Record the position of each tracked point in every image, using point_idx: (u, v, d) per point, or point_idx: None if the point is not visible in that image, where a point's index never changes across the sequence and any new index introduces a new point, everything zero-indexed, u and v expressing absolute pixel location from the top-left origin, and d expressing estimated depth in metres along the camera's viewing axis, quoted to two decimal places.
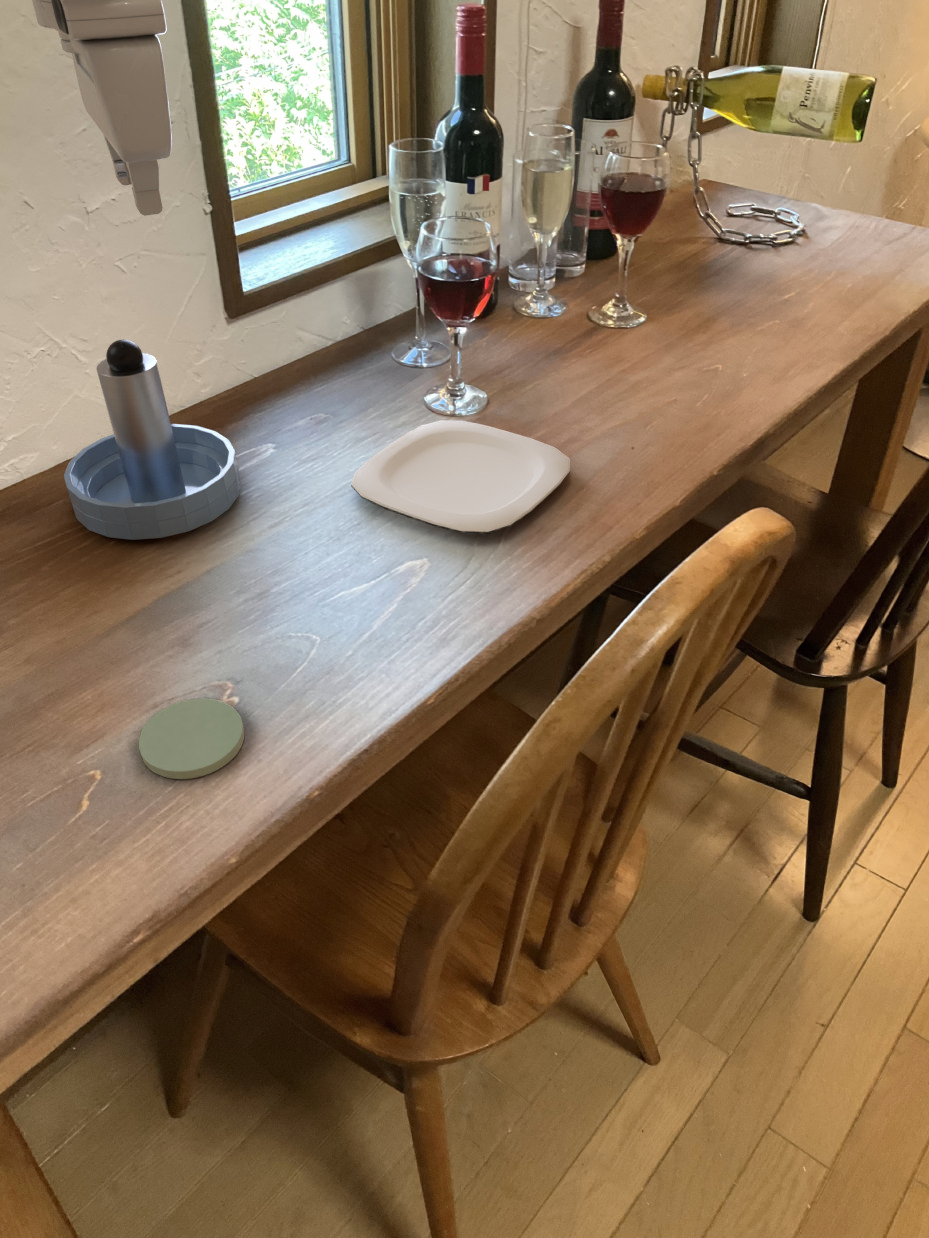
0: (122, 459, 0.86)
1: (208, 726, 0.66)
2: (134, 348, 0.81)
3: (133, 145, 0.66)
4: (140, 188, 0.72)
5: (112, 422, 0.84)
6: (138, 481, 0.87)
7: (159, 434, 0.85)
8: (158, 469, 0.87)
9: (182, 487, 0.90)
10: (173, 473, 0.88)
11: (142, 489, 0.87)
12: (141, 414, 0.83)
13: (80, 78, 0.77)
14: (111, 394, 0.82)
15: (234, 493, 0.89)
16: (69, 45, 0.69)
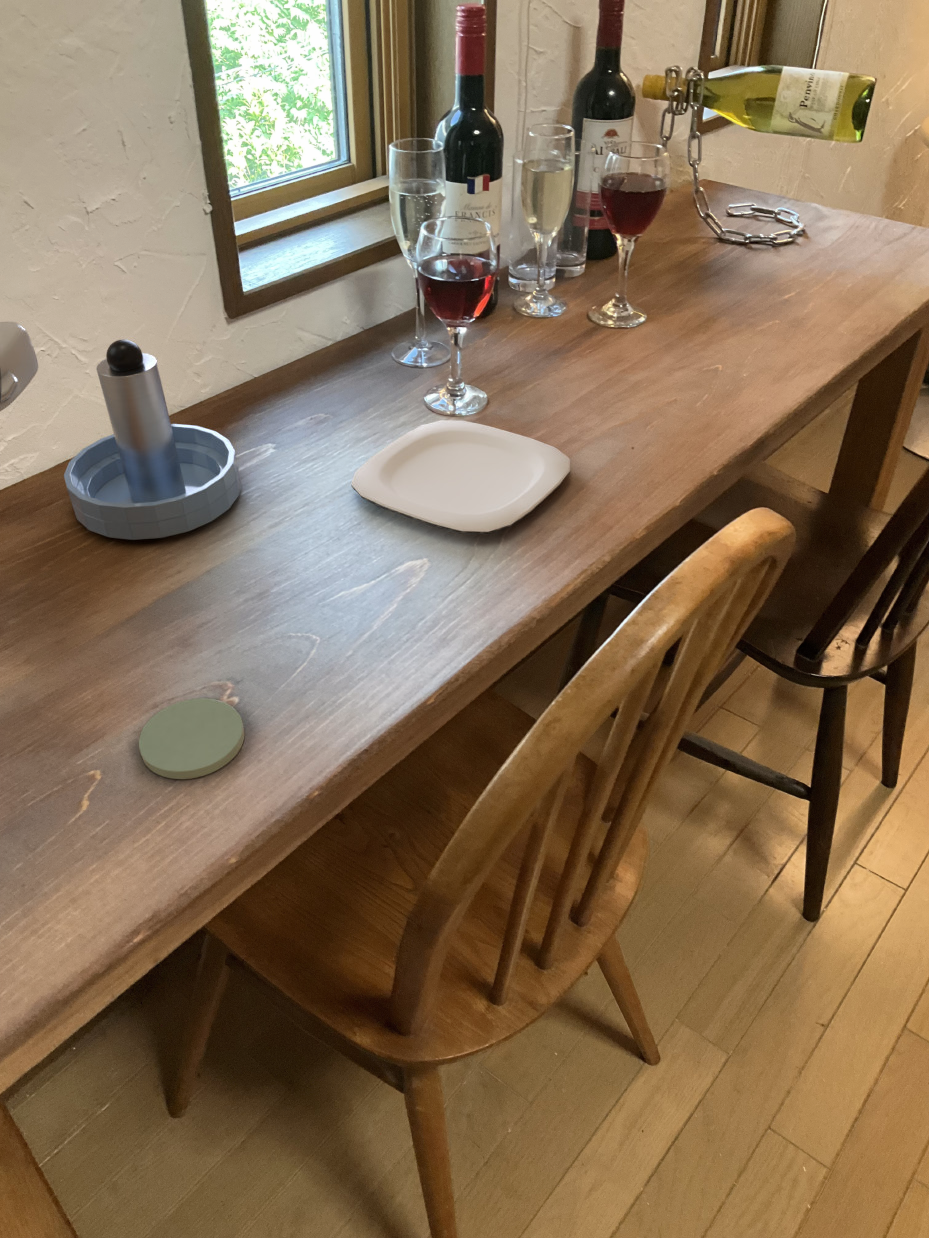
0: (122, 459, 0.86)
1: (208, 726, 0.66)
2: (134, 348, 0.81)
3: None
4: None
5: (112, 422, 0.84)
6: (138, 481, 0.87)
7: (159, 434, 0.85)
8: (158, 469, 0.87)
9: (182, 487, 0.90)
10: (173, 473, 0.88)
11: (142, 489, 0.87)
12: (141, 414, 0.83)
13: None
14: (111, 394, 0.82)
15: (234, 493, 0.89)
16: None
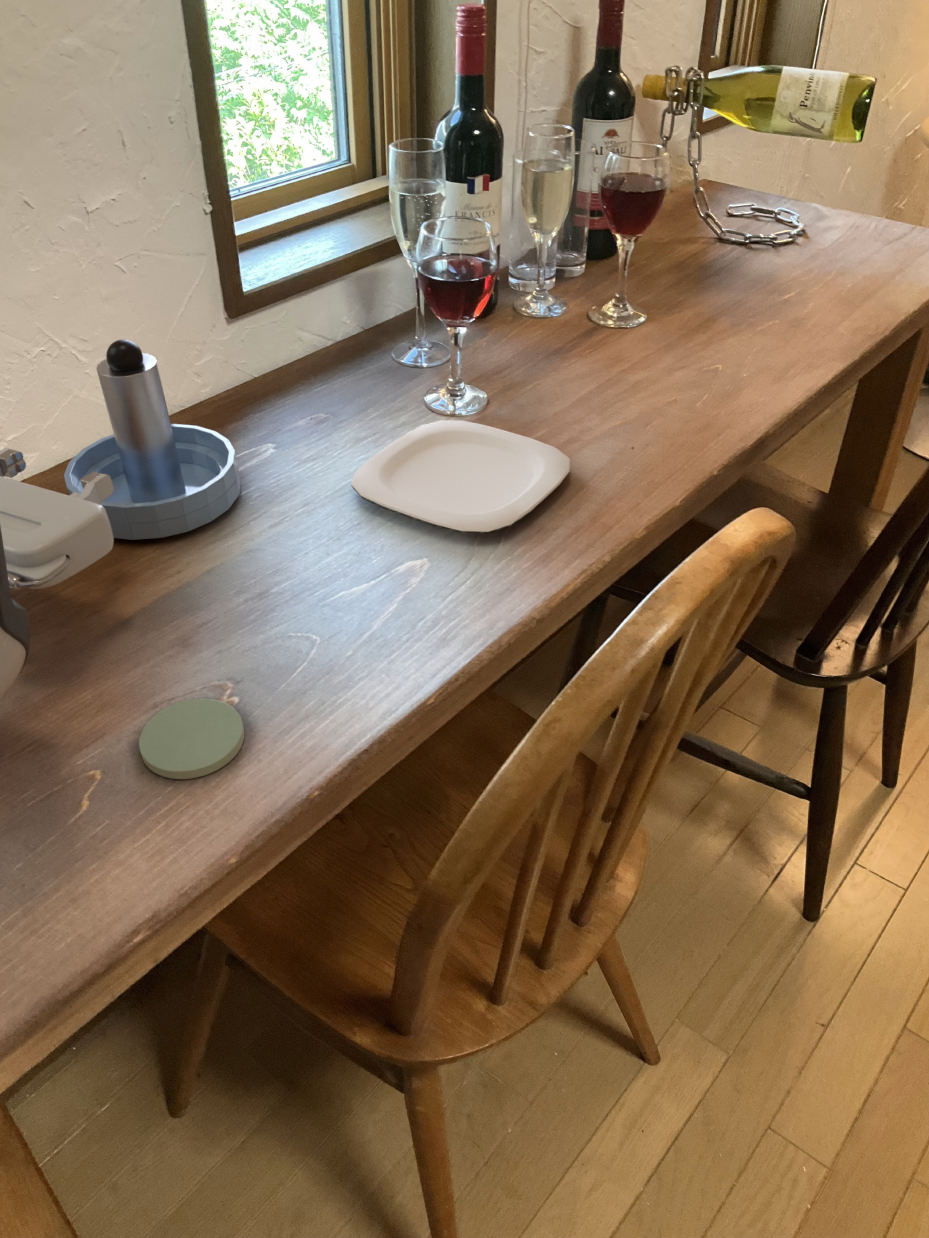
0: (122, 459, 0.86)
1: (208, 726, 0.66)
2: (134, 348, 0.81)
3: None
4: None
5: (112, 422, 0.84)
6: (138, 481, 0.87)
7: (159, 434, 0.85)
8: (158, 469, 0.87)
9: (182, 487, 0.90)
10: (173, 473, 0.88)
11: (142, 489, 0.87)
12: (141, 414, 0.83)
13: (48, 515, 0.70)
14: (111, 394, 0.82)
15: (234, 493, 0.89)
16: None
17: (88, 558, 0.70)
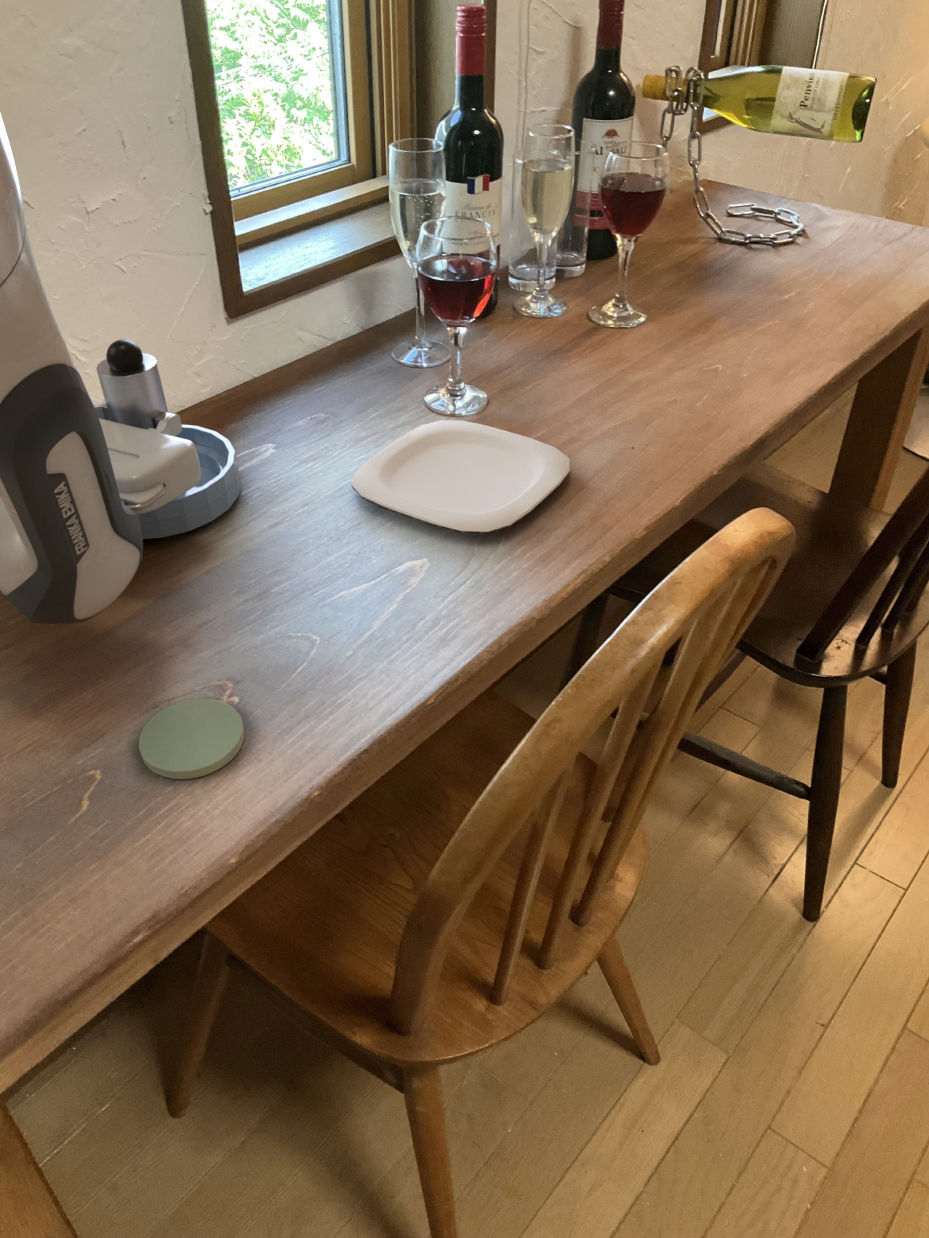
0: None
1: (208, 726, 0.66)
2: (134, 348, 0.81)
3: None
4: None
5: None
6: None
7: None
8: None
9: None
10: None
11: None
12: (141, 414, 0.83)
13: (145, 448, 0.78)
14: (111, 394, 0.82)
15: (234, 493, 0.89)
16: None
17: (180, 488, 0.78)
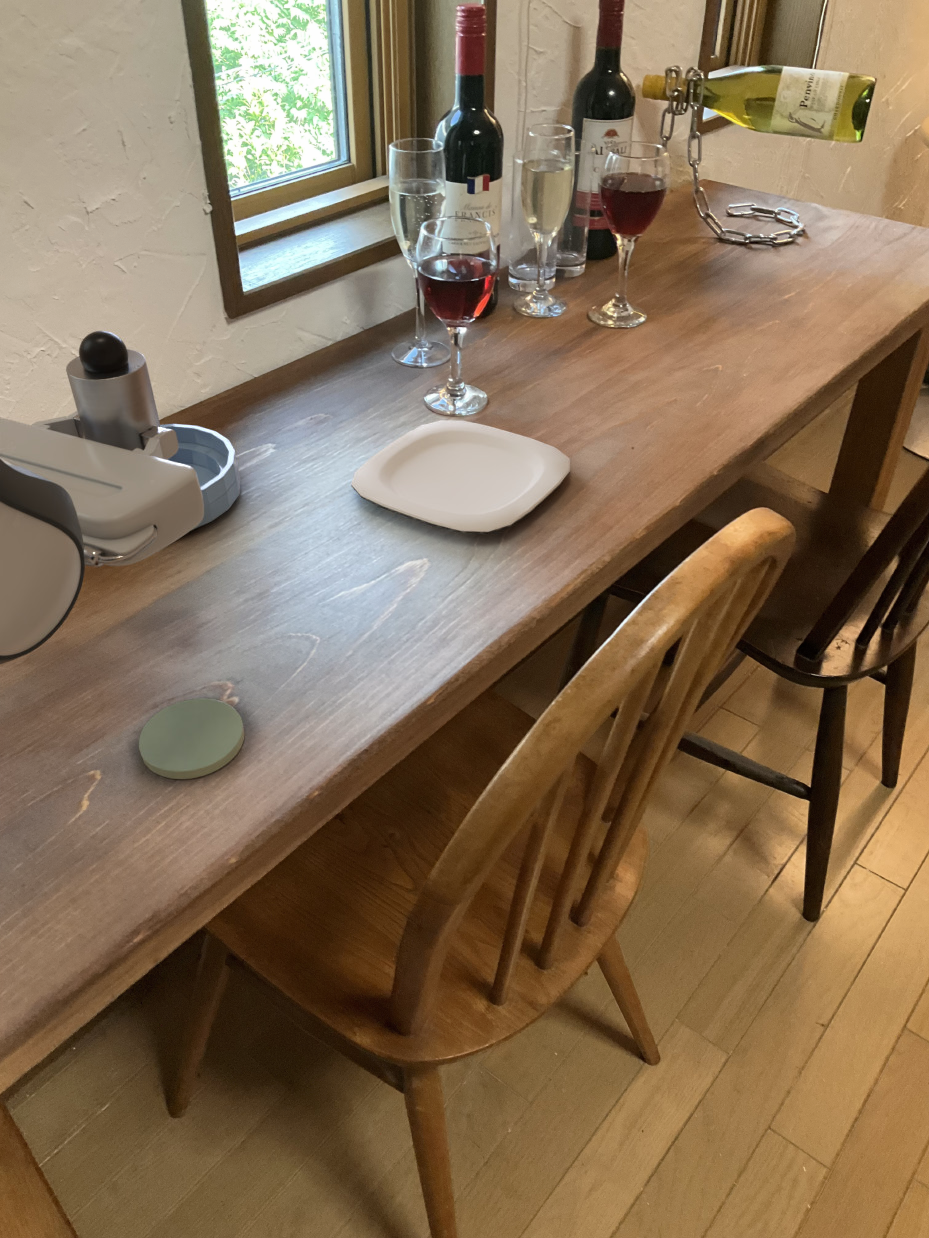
0: None
1: (208, 726, 0.66)
2: (116, 342, 0.62)
3: None
4: None
5: (87, 439, 0.64)
6: None
7: None
8: None
9: None
10: None
11: None
12: (125, 429, 0.63)
13: (129, 477, 0.58)
14: (86, 402, 0.62)
15: (234, 493, 0.89)
16: None
17: (177, 530, 0.58)
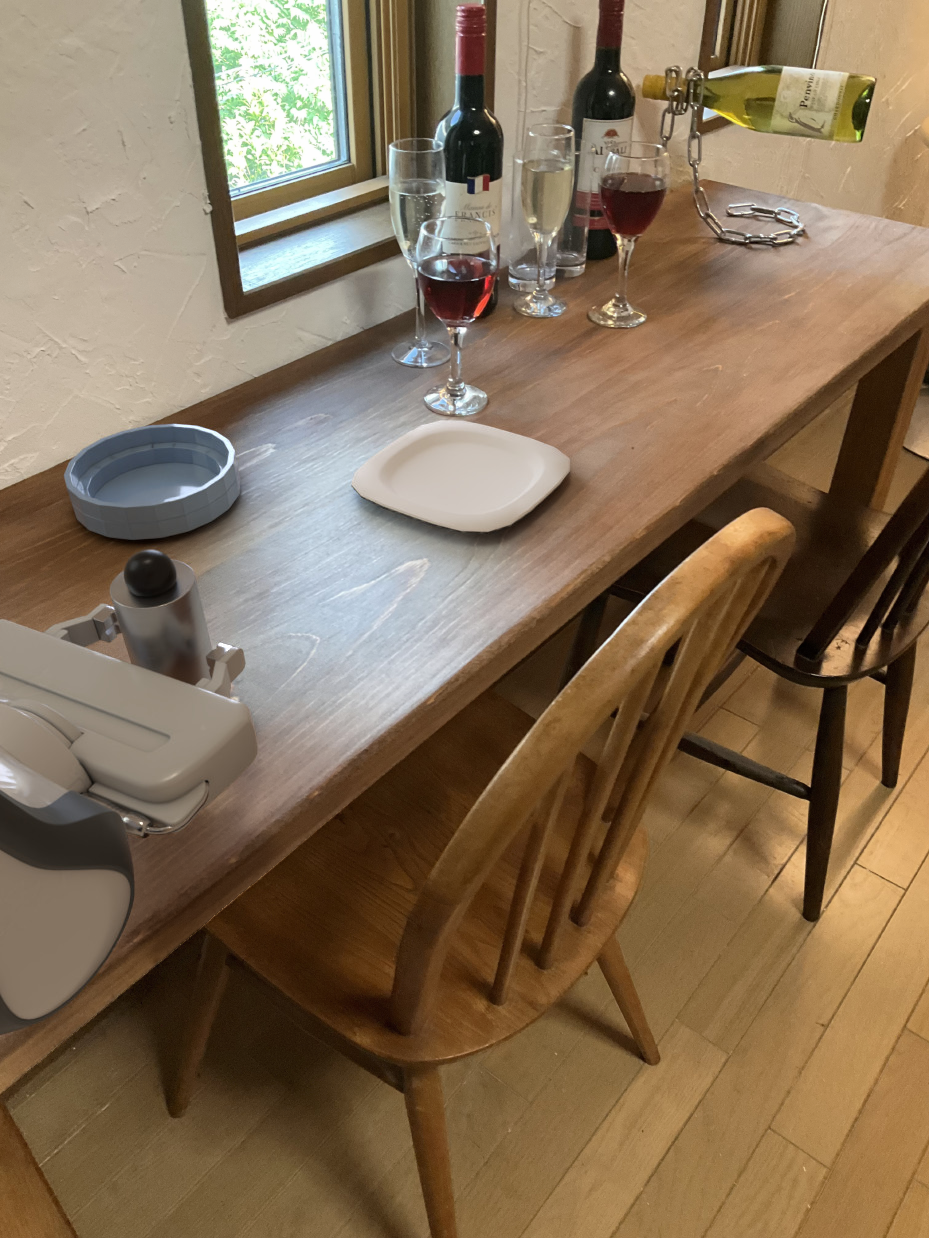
0: None
1: None
2: (164, 564, 0.56)
3: None
4: None
5: (131, 659, 0.59)
6: None
7: (198, 673, 0.60)
8: None
9: None
10: None
11: None
12: (174, 652, 0.58)
13: (177, 722, 0.53)
14: (131, 628, 0.57)
15: (234, 493, 0.89)
16: (13, 704, 0.52)
17: (229, 777, 0.53)
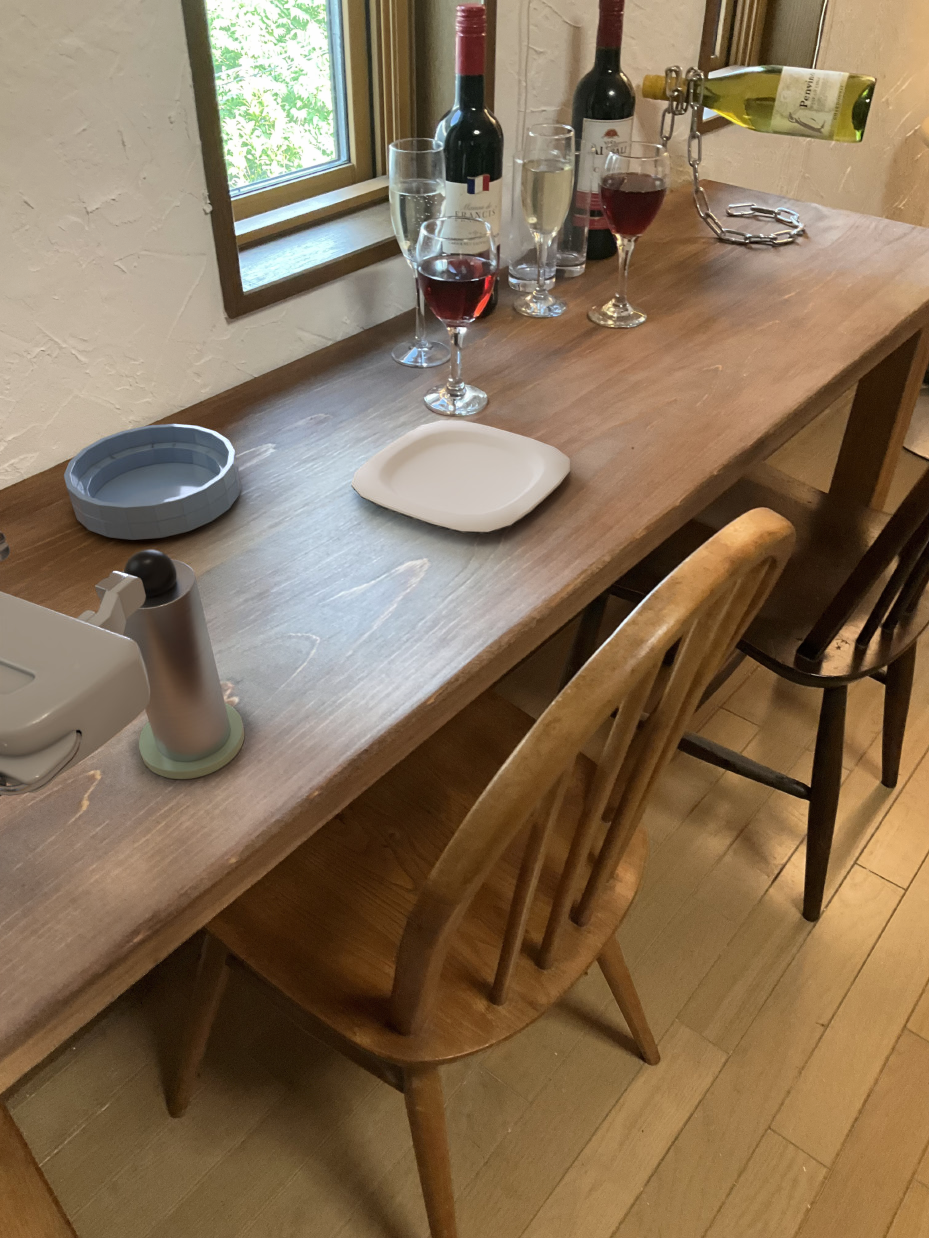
0: None
1: None
2: (164, 564, 0.56)
3: None
4: None
5: None
6: (167, 731, 0.62)
7: (198, 673, 0.60)
8: (195, 716, 0.62)
9: (226, 729, 0.65)
10: (215, 715, 0.63)
11: (172, 740, 0.62)
12: (174, 652, 0.58)
13: (47, 659, 0.43)
14: (131, 628, 0.57)
15: (234, 493, 0.89)
16: None
17: (111, 728, 0.43)
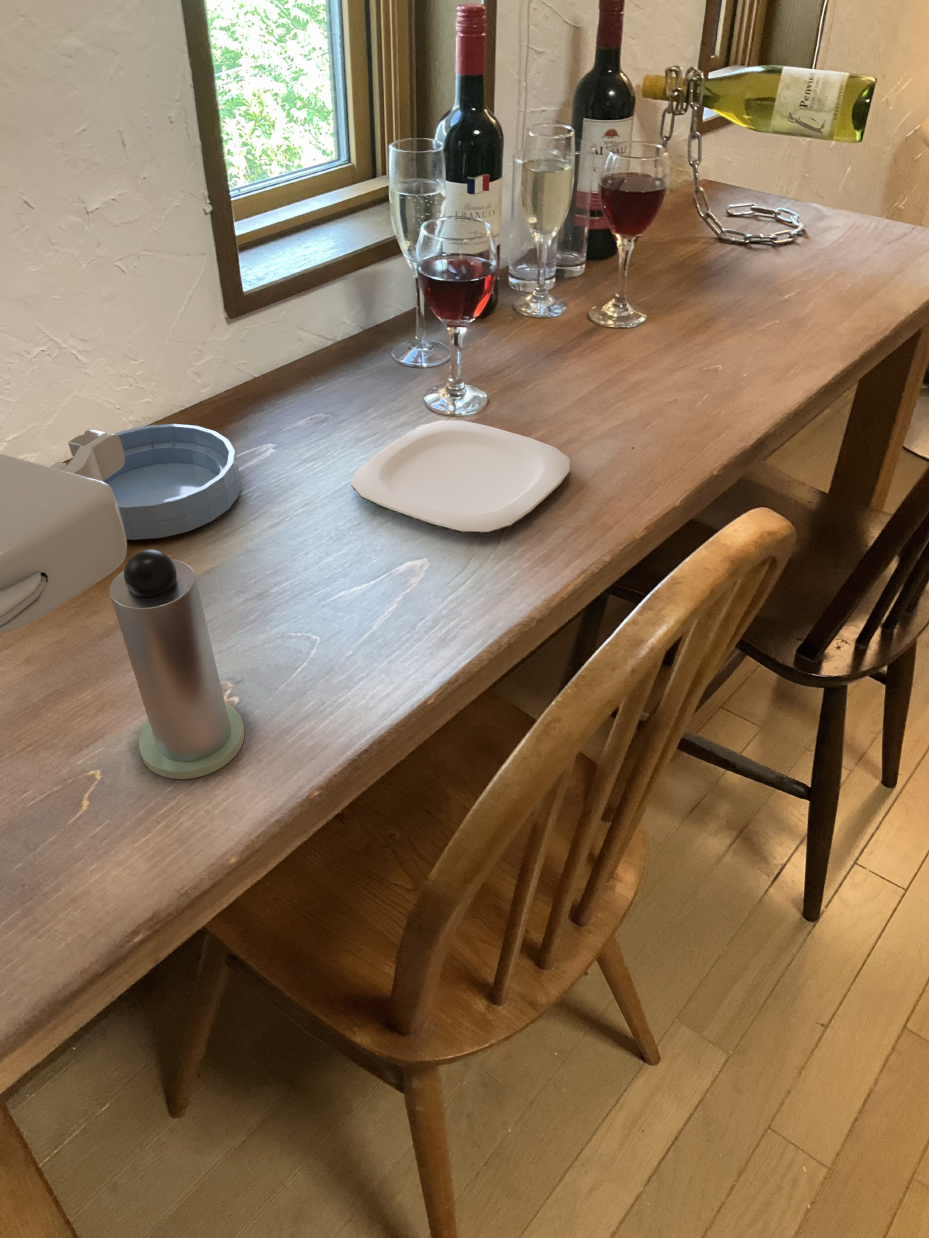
0: (145, 702, 0.61)
1: None
2: (164, 564, 0.56)
3: None
4: None
5: (131, 659, 0.59)
6: (167, 731, 0.62)
7: (198, 673, 0.60)
8: (195, 716, 0.62)
9: (226, 729, 0.65)
10: (215, 715, 0.63)
11: (172, 740, 0.62)
12: (174, 652, 0.58)
13: (9, 500, 0.38)
14: (131, 628, 0.57)
15: (234, 493, 0.89)
16: None
17: (82, 578, 0.39)
